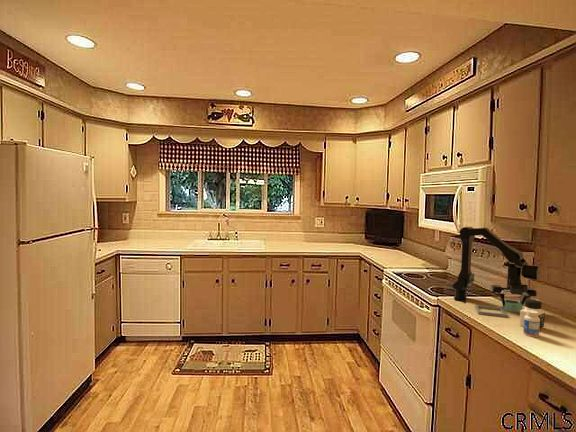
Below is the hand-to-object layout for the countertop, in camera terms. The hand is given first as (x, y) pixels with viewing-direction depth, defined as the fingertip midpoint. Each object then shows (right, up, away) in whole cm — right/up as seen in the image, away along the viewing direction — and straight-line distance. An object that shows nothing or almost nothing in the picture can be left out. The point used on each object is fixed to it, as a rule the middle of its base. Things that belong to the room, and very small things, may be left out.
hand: (512, 307), depth 184 cm
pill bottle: (-11, -4, -31) cm, 33 cm away
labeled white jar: (-4, -3, -22) cm, 22 cm away
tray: (-13, -2, -5) cm, 14 cm away
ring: (0, -1, 0) cm, 1 cm away
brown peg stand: (0, -2, 0) cm, 2 cm away
